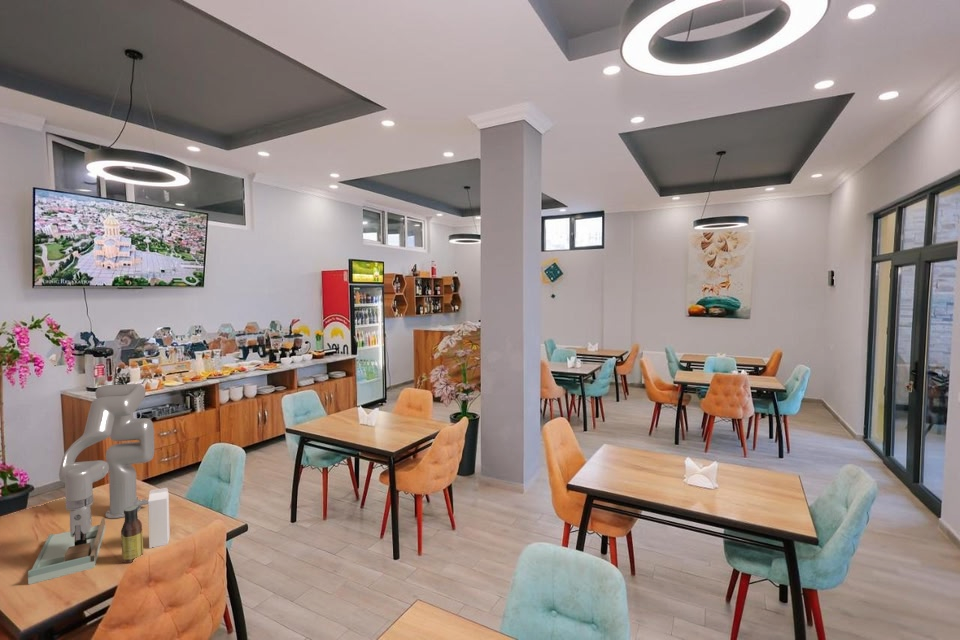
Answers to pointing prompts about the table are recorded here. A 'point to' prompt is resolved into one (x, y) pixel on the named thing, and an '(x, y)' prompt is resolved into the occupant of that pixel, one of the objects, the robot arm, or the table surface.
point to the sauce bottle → (131, 535)
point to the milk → (158, 517)
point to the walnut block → (78, 551)
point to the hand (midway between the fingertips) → (80, 549)
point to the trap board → (54, 555)
